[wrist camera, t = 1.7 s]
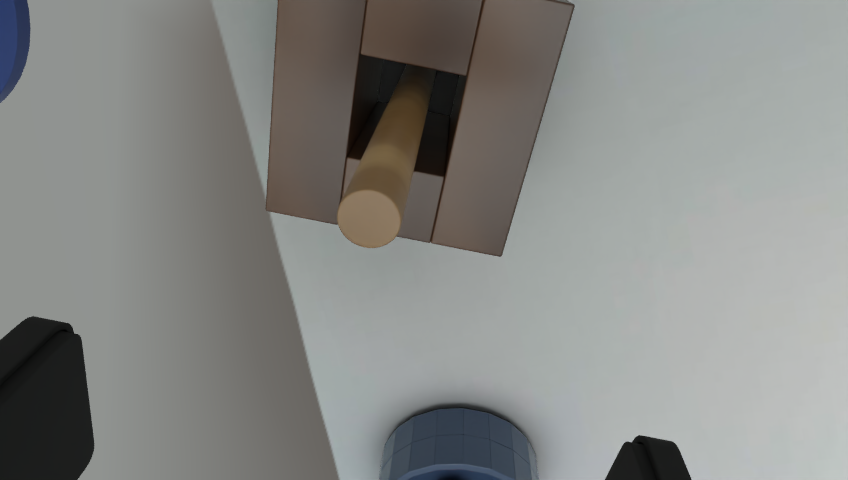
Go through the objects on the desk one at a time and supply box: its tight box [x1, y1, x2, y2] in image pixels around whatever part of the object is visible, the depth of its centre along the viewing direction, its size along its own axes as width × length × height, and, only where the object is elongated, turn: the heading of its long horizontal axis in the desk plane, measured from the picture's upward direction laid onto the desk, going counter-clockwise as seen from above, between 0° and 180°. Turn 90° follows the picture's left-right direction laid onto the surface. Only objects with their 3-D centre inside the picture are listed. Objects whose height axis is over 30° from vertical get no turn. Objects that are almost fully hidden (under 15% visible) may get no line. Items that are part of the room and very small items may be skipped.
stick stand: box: [266, 0, 574, 257], centre depth 29 cm, size 12×12×10 cm
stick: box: [337, 64, 436, 248], centre depth 24 cm, size 2×2×20 cm
